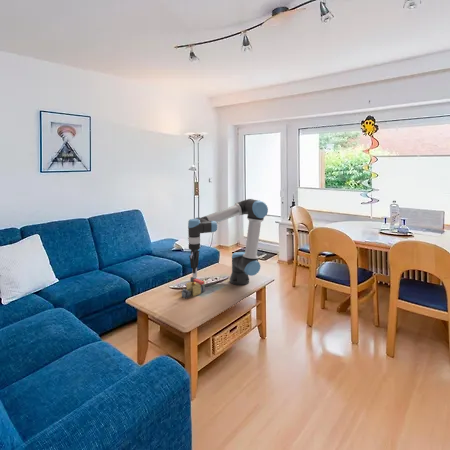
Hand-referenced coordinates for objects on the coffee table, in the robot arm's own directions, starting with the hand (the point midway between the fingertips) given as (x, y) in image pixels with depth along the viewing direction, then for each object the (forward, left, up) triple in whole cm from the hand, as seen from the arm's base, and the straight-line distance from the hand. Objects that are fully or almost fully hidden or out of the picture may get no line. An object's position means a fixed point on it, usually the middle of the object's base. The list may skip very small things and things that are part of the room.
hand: (194, 277), depth 211 cm
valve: (0, -9, -16) cm, 18 cm away
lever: (-2, -6, -6) cm, 9 cm away
